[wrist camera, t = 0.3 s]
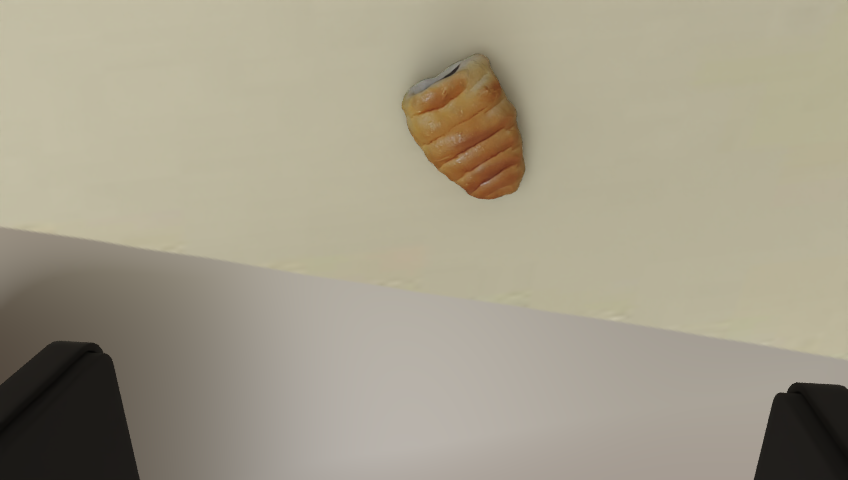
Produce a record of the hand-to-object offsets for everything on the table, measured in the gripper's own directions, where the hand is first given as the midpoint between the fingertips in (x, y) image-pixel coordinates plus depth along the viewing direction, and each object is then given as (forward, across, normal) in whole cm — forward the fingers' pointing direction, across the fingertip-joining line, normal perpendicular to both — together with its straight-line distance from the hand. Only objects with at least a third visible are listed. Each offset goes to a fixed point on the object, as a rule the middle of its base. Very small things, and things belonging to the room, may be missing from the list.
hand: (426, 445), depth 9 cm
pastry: (+37, +1, +4) cm, 37 cm away
